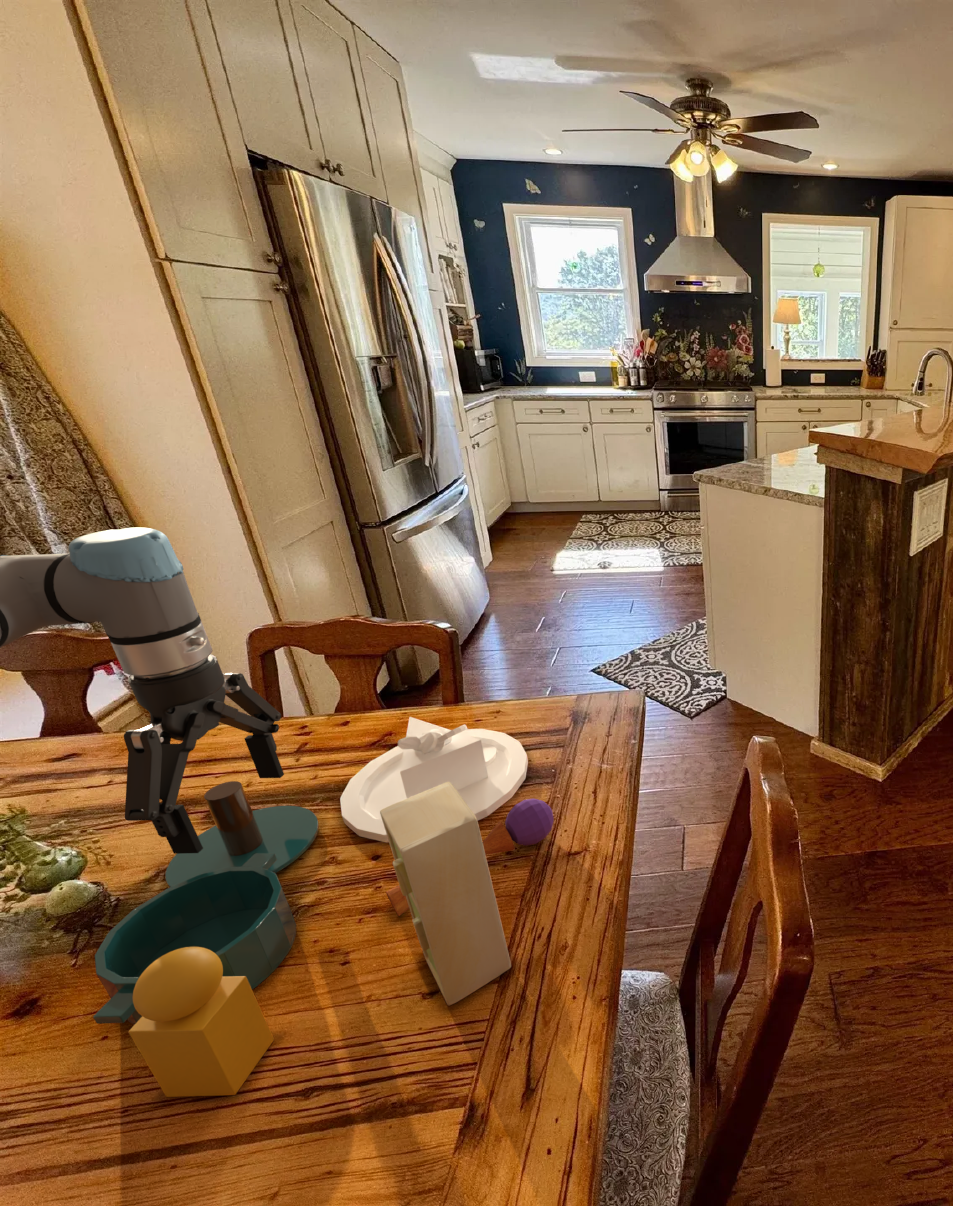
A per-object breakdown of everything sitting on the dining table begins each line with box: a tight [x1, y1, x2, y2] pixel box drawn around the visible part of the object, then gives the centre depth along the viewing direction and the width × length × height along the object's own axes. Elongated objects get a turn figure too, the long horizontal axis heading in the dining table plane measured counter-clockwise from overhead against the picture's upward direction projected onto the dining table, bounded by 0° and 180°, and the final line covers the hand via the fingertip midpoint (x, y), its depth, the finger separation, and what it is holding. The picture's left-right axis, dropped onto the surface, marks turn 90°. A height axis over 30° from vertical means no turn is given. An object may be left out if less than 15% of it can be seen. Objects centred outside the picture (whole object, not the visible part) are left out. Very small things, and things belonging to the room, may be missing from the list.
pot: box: [92, 853, 297, 1026], centre depth 68 cm, size 14×20×6 cm
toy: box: [128, 947, 275, 1098], centre depth 57 cm, size 6×6×14 cm
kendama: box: [385, 798, 555, 917], centre depth 82 cm, size 6×6×20 cm
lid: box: [164, 780, 320, 888], centre depth 82 cm, size 15×15×10 cm
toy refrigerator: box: [380, 782, 512, 1006], centre depth 66 cm, size 8×7×21 cm
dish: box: [339, 716, 529, 843], centre depth 95 cm, size 25×25×11 cm
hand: (233, 811), depth 81 cm, fingers open, 13 cm apart
